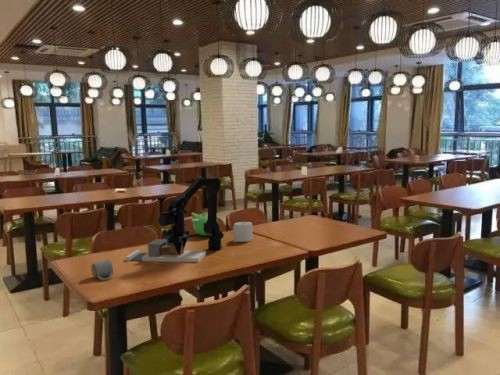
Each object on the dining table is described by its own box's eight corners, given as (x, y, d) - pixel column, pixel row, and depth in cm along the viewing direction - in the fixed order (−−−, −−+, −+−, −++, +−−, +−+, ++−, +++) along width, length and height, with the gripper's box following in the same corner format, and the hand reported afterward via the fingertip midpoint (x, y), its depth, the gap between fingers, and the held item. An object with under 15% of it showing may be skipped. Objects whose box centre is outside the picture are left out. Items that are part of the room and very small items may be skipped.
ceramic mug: (91, 276, 204) (89, 260, 203) (108, 272, 209) (107, 257, 208) (98, 283, 196) (96, 266, 195) (116, 278, 200) (115, 262, 199)
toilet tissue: (254, 237, 268) (253, 221, 267) (250, 242, 257) (249, 225, 256) (237, 237, 271) (236, 221, 269) (232, 242, 259) (231, 225, 258)
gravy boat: (219, 237, 273) (218, 213, 271) (192, 239, 270) (191, 215, 268) (217, 231, 290) (216, 209, 289) (191, 233, 288) (190, 210, 286)
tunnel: (167, 251, 237) (166, 239, 236) (159, 256, 226) (158, 244, 226) (156, 250, 238) (155, 239, 237) (148, 256, 227) (147, 244, 227)
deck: (206, 254, 235) (205, 250, 235) (198, 262, 221) (198, 258, 221) (137, 253, 242) (137, 249, 242) (125, 260, 228) (125, 257, 228)
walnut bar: (183, 252, 232) (183, 245, 232) (181, 255, 228) (180, 247, 227) (158, 252, 235) (158, 245, 234) (155, 254, 230) (155, 247, 230)
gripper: (170, 219, 239) (172, 247, 241) (157, 226, 220) (159, 257, 222) (190, 219, 237) (191, 247, 239) (178, 226, 218) (180, 257, 220)
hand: (180, 252), depth 230 cm, fingers closed on walnut bar, 4 cm apart
